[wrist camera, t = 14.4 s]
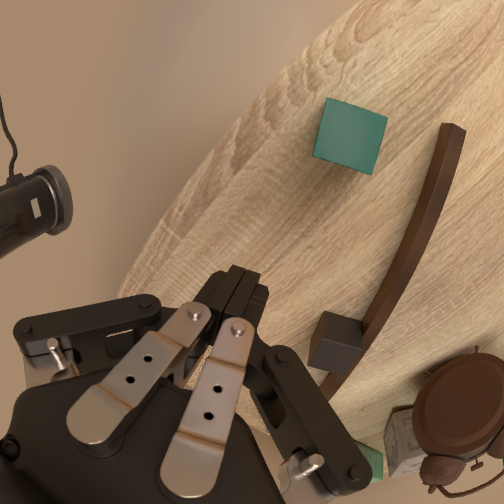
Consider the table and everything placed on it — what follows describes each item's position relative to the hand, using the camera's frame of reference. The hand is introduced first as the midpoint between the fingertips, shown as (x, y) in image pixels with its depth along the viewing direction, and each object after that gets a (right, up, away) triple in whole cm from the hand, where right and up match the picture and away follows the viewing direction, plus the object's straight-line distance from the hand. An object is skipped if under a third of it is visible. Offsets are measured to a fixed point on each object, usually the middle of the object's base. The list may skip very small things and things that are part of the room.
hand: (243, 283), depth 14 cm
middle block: (+10, -7, +16) cm, 20 cm away
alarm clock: (+29, -14, +14) cm, 35 cm away
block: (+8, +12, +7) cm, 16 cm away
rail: (+13, -8, +15) cm, 21 cm away
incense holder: (+28, -27, +20) cm, 43 cm away
